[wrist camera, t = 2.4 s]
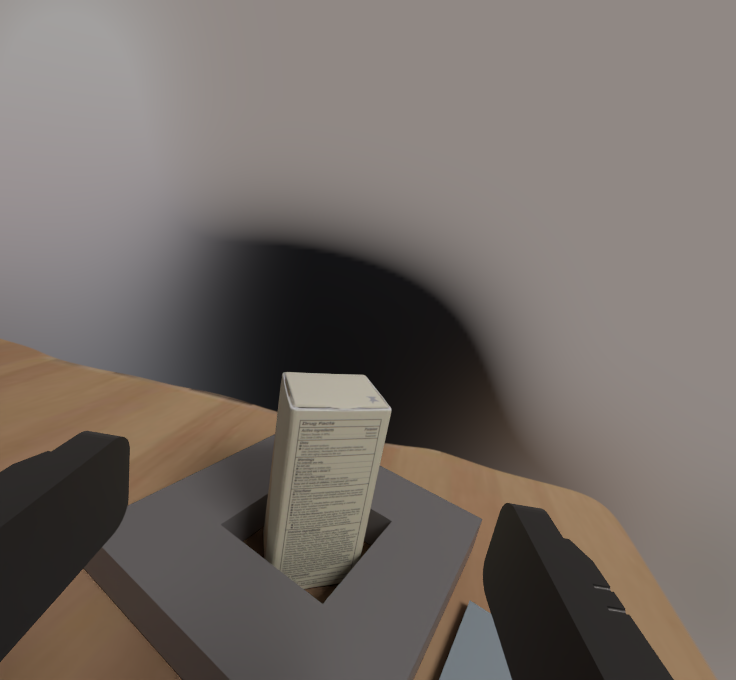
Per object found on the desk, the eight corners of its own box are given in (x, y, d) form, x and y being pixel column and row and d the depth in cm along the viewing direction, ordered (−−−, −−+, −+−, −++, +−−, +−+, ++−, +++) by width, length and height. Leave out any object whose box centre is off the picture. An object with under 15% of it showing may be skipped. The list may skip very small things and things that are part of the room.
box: (339, 526, 26) (371, 373, 23) (357, 584, 22) (399, 408, 19) (257, 533, 24) (281, 368, 21) (261, 597, 20) (291, 405, 17)
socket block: (83, 567, 19) (83, 527, 19) (294, 448, 33) (298, 422, 32) (335, 851, 12) (349, 802, 12) (472, 549, 26) (482, 519, 25)
